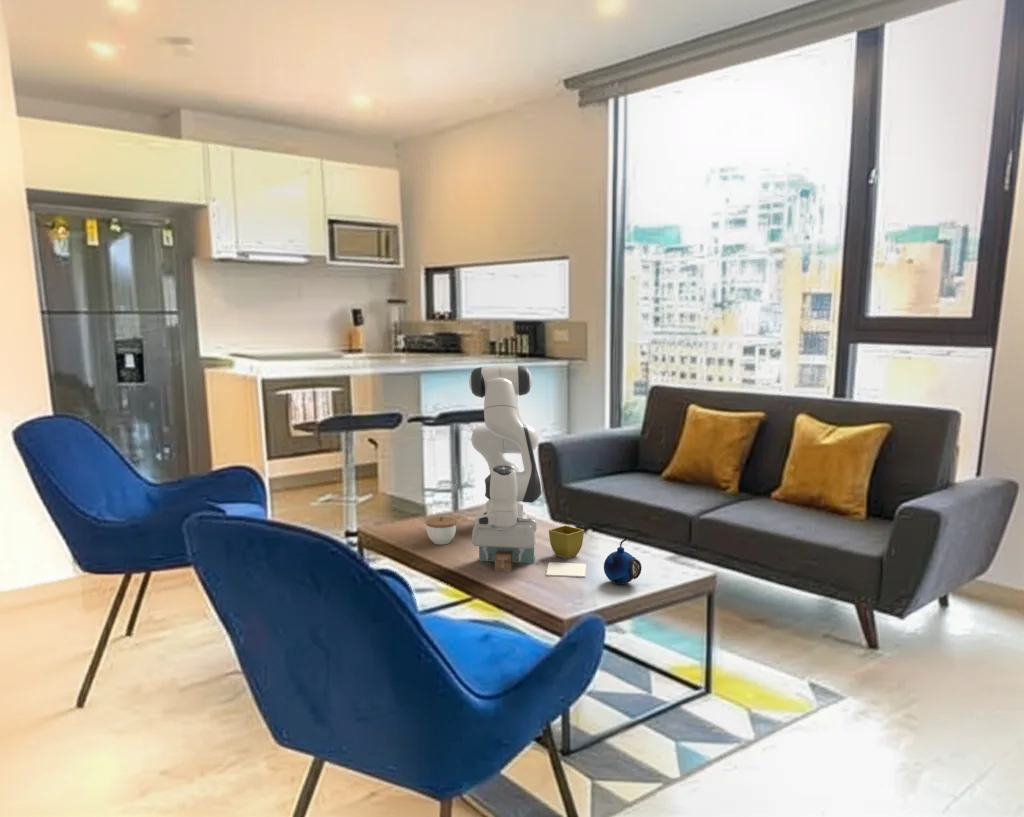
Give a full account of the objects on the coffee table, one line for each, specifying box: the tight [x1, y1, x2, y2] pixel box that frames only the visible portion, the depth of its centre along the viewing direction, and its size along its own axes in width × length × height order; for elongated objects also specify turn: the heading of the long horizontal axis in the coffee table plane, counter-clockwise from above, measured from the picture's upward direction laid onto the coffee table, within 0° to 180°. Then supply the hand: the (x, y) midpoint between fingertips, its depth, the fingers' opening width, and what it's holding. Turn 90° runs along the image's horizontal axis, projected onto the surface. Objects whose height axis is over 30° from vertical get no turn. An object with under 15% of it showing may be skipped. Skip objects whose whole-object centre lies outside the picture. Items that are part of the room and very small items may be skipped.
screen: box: [478, 521, 536, 564], centre depth 241 cm, size 5×18×14 cm, turn 83°
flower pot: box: [548, 525, 585, 559], centre depth 246 cm, size 9×9×9 cm
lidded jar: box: [425, 515, 457, 545], centre depth 262 cm, size 11×11×9 cm
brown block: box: [494, 550, 514, 572], centre depth 234 cm, size 5×5×5 cm
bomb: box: [603, 535, 642, 585], centre depth 219 cm, size 10×11×15 cm
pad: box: [545, 561, 587, 578], centre depth 231 cm, size 12×12×1 cm
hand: (503, 560), depth 234 cm, fingers open, 8 cm apart
